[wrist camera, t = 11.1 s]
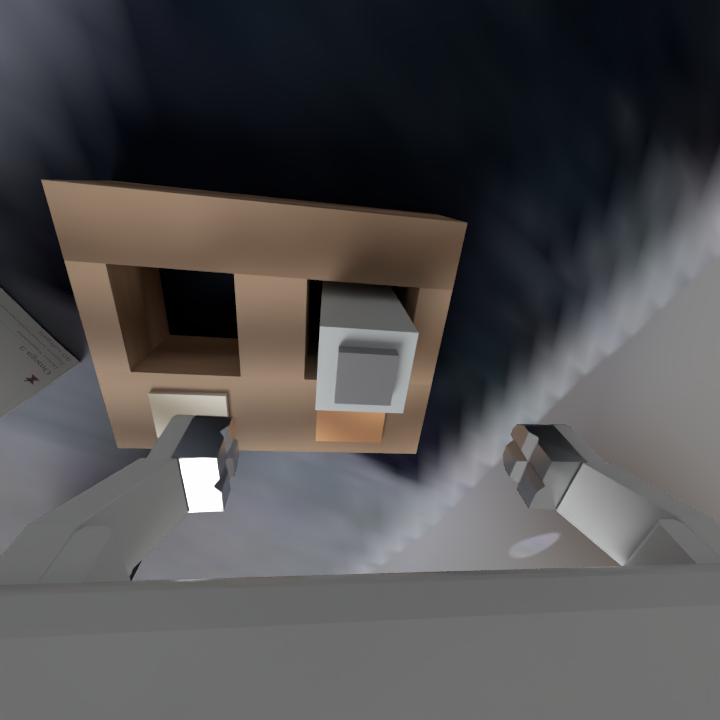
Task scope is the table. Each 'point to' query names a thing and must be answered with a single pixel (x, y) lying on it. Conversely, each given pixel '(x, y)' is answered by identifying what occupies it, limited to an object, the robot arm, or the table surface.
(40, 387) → the supplement box
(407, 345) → the plug
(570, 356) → the table surface
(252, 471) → the table surface
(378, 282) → the socket block
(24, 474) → the table surface
